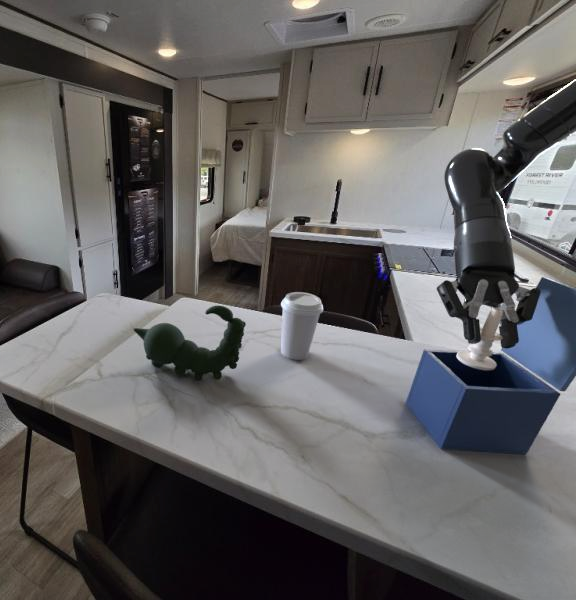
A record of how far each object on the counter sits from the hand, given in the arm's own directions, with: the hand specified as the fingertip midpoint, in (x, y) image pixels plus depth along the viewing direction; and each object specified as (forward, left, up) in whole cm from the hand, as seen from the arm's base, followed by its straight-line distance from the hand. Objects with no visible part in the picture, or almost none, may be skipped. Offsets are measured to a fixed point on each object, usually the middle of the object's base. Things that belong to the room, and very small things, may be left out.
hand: (491, 344), depth 54 cm
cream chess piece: (0, -2, -5) cm, 5 cm away
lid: (-9, -2, +2) cm, 10 cm away
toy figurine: (+50, -15, -19) cm, 55 cm away
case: (-2, -2, -19) cm, 19 cm away
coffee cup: (+23, -25, -19) cm, 38 cm away
